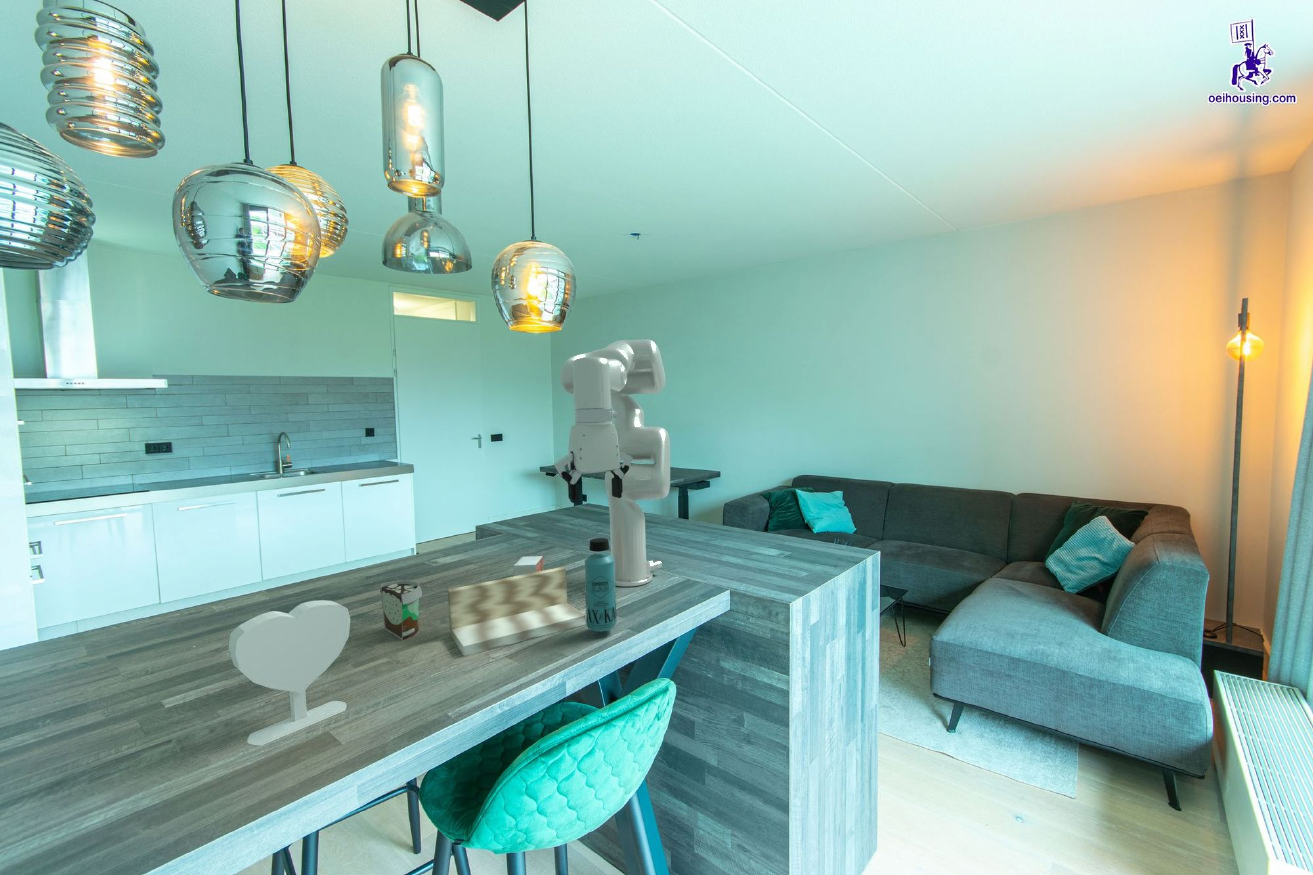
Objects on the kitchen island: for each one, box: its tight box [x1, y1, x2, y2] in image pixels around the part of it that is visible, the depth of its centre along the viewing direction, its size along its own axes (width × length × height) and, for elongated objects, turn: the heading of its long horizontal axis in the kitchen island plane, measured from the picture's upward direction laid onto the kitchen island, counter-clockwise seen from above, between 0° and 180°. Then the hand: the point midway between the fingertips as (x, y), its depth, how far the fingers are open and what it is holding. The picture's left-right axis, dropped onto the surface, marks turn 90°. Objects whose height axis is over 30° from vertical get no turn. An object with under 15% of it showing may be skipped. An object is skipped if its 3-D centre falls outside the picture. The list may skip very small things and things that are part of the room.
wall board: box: [447, 566, 587, 657], centre depth 121 cm, size 26×12×10 cm, turn 122°
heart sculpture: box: [228, 599, 352, 747], centre depth 87 cm, size 16×5×18 cm, turn 140°
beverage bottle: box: [584, 537, 618, 632], centre depth 118 cm, size 6×7×20 cm
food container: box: [379, 580, 423, 641], centre depth 123 cm, size 12×6×10 cm, turn 47°
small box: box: [513, 555, 545, 577], centre depth 137 cm, size 8×6×10 cm
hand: (596, 499), depth 116 cm, fingers open, 9 cm apart
